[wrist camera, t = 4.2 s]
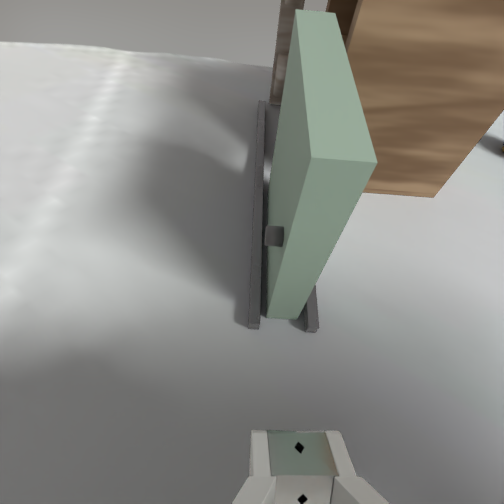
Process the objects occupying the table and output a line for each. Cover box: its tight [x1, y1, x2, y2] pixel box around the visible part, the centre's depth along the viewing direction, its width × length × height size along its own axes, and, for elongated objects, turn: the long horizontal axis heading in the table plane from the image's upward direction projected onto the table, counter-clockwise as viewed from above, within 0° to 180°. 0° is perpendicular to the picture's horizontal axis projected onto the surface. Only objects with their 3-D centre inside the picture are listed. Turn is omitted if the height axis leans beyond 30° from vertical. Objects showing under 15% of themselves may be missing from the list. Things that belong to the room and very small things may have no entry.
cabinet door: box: [265, 9, 378, 320], centre depth 22 cm, size 15×4×16 cm, turn 178°
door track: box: [248, 101, 319, 333], centre depth 32 cm, size 30×5×1 cm, turn 178°
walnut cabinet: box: [269, 0, 504, 198], centre depth 29 cm, size 16×18×20 cm
